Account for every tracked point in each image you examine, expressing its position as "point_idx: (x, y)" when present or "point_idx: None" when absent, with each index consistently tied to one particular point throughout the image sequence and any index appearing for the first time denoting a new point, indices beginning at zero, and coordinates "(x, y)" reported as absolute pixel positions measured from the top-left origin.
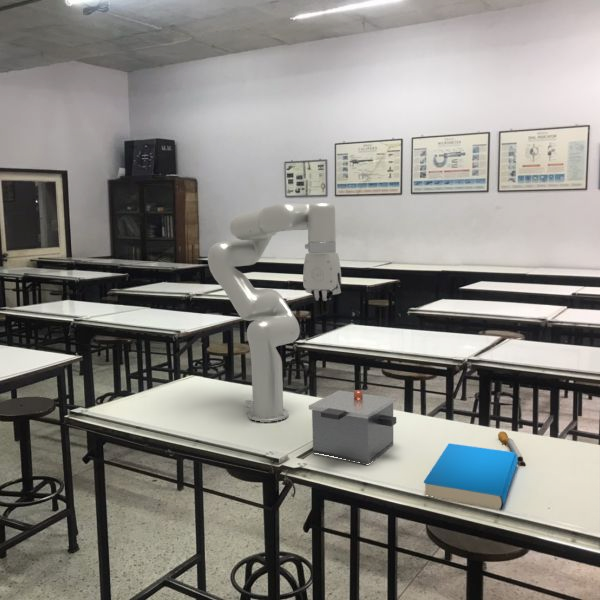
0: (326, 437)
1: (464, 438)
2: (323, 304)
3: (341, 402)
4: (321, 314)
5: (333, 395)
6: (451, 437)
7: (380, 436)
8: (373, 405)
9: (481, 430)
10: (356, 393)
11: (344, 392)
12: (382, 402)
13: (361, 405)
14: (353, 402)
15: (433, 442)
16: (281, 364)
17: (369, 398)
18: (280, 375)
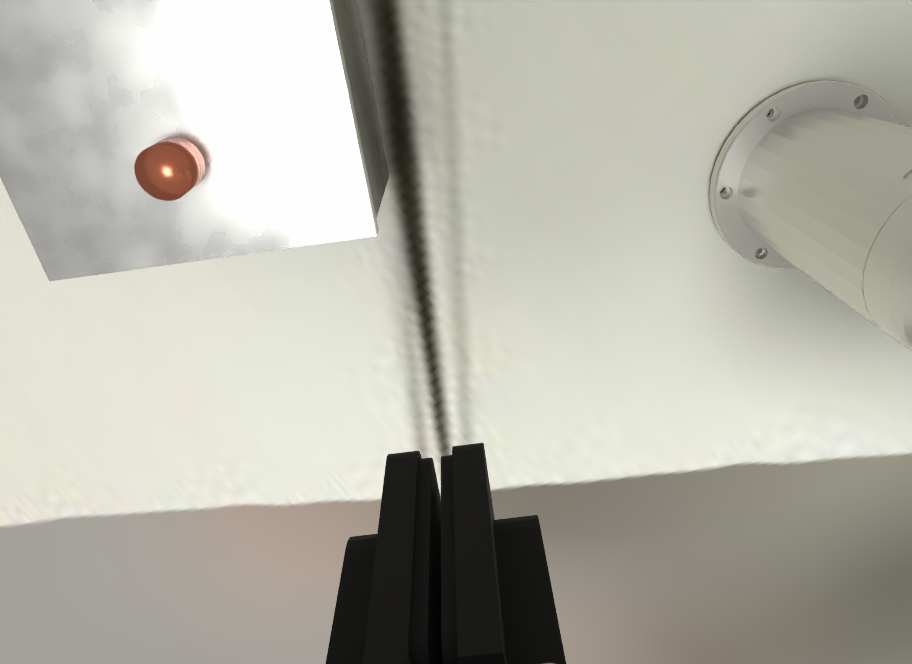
0: None
1: (32, 401)
2: (375, 612)
3: (187, 27)
4: (430, 461)
5: (329, 127)
6: (68, 386)
7: None
8: (9, 93)
9: (48, 487)
10: (154, 145)
11: (322, 217)
12: (24, 176)
13: (55, 48)
14: (136, 74)
15: (75, 314)
16: (880, 311)
17: (133, 199)
18: (840, 266)
